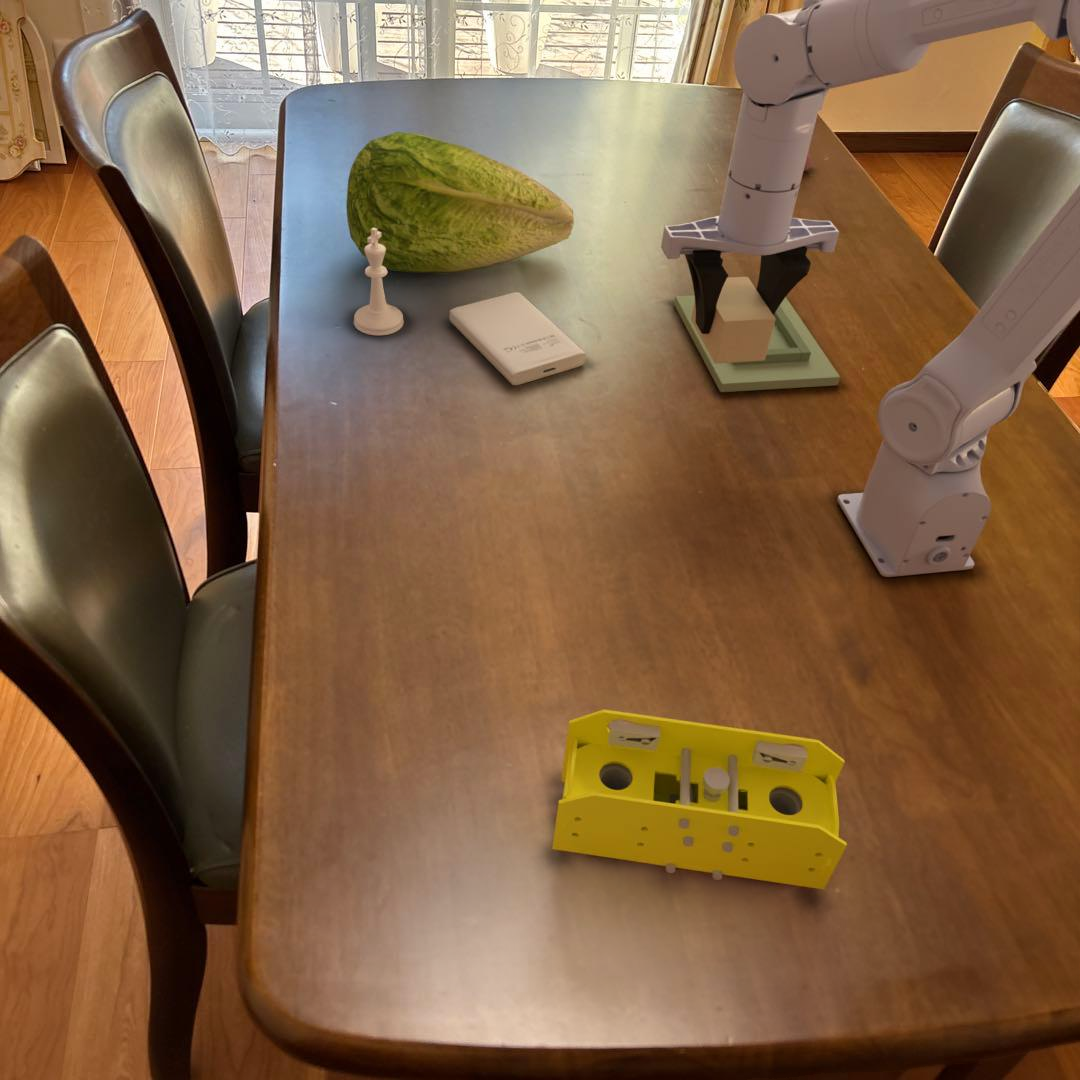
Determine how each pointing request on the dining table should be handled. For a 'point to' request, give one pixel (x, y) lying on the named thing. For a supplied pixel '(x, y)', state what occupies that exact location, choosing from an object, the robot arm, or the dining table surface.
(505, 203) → the lettuce
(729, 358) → the tan rectangular block
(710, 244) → the robot arm
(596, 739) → the yellow toy chassis
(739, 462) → the dining table surface
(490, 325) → the hard drive
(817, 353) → the base mat
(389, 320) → the chess piece
